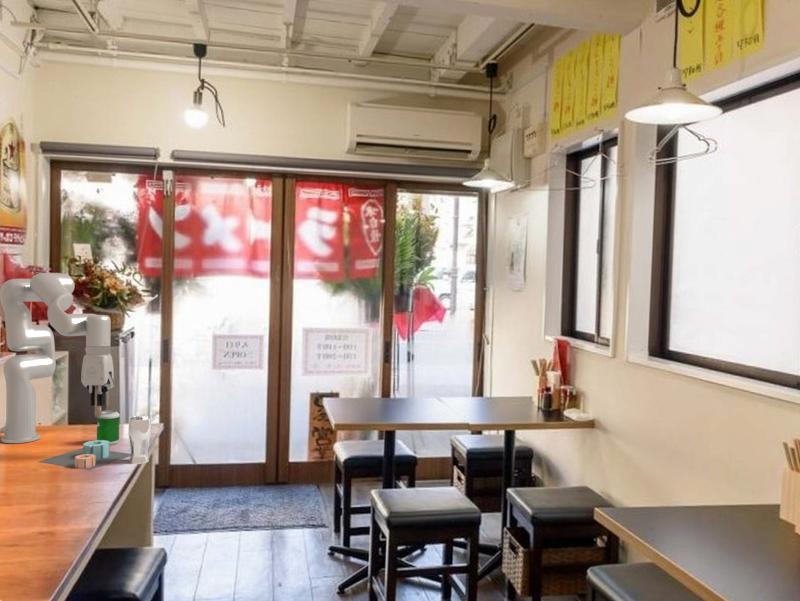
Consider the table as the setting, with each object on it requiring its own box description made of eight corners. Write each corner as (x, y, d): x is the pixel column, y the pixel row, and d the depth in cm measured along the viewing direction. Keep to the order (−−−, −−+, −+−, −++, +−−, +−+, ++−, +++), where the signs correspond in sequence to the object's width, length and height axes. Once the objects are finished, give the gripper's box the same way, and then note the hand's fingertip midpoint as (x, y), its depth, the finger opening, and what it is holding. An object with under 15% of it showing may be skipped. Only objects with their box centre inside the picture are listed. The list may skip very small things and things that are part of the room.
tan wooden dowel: (93, 417, 218) (93, 381, 218) (97, 416, 220) (98, 381, 220) (98, 417, 217) (98, 382, 217) (102, 416, 219) (102, 381, 219)
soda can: (123, 442, 240) (123, 410, 239) (112, 447, 232) (112, 414, 232) (104, 441, 241) (104, 409, 240) (92, 446, 233) (92, 413, 233)
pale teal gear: (77, 457, 217) (78, 444, 217) (96, 452, 224) (96, 439, 224) (96, 460, 214) (97, 447, 214) (114, 454, 222) (114, 441, 222)
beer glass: (123, 463, 213) (124, 418, 213) (140, 458, 220) (141, 414, 219) (137, 466, 210) (138, 421, 210) (154, 461, 216) (155, 417, 216)
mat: (36, 463, 211) (36, 461, 211) (84, 448, 230) (84, 447, 230) (90, 471, 204) (90, 469, 204) (134, 455, 223) (134, 454, 223)
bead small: (71, 468, 205) (71, 458, 205) (80, 462, 211) (80, 453, 211) (90, 468, 205) (90, 459, 205) (98, 463, 211) (98, 454, 211)
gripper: (71, 351, 217) (70, 405, 218) (108, 353, 212) (108, 408, 213) (88, 349, 224) (88, 401, 225) (125, 351, 219) (124, 405, 220)
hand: (98, 404), depth 219 cm, fingers closed on tan wooden dowel, 2 cm apart
